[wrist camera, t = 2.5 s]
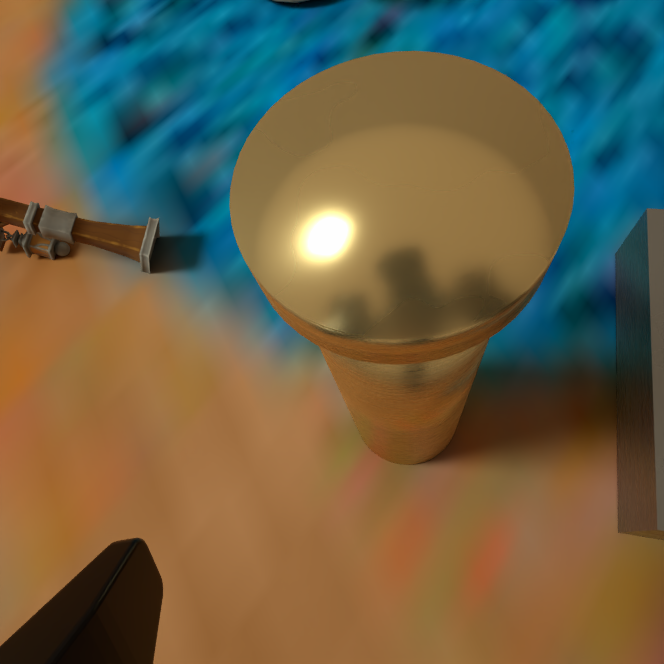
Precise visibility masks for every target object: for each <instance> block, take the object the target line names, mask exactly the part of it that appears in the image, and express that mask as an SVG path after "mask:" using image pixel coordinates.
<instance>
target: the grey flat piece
mask: <svg viewBox="0 0 664 664" xmlns="http://www.w3.org/2000/svg"><path fill="white" fill-rule="evenodd" d="M615 259H616V361H617V463H618V533H624V534H630V535H636V536H642V537H648V538H655V539H661V540H664V210H663V209H646V210H645V212H644V213H643V215H642V216H641V218H640V219H639V221H638V222H637V223H636V225H635V226H634V228H633V229H632V231H631V232H630V234H629V235H628V236H627V238H626V239H625V241H624V242H623V244H622V245H621V247H620V248H619V249H618V251H617V252H616V254H615Z"/></svg>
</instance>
